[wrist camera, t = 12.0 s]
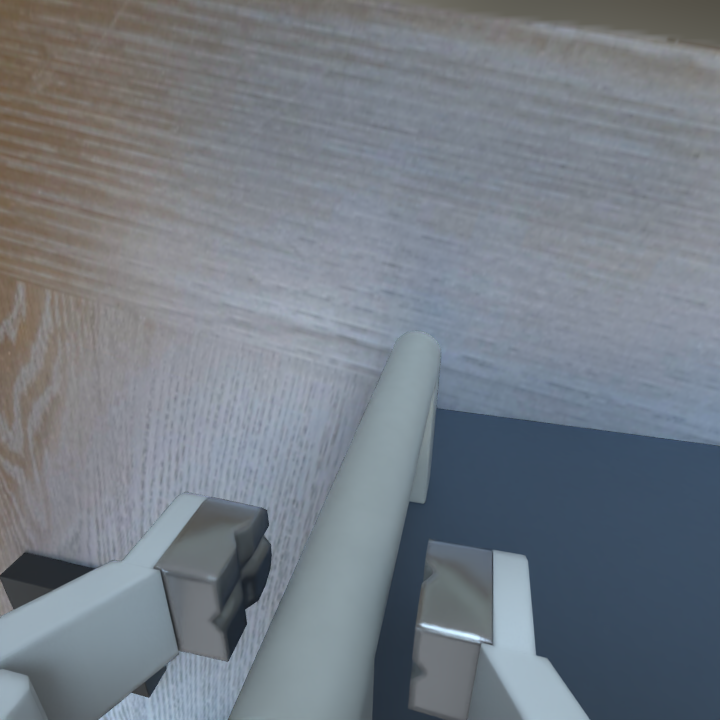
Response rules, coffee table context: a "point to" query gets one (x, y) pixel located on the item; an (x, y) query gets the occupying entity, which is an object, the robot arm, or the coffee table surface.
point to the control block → (43, 576)
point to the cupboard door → (509, 534)
